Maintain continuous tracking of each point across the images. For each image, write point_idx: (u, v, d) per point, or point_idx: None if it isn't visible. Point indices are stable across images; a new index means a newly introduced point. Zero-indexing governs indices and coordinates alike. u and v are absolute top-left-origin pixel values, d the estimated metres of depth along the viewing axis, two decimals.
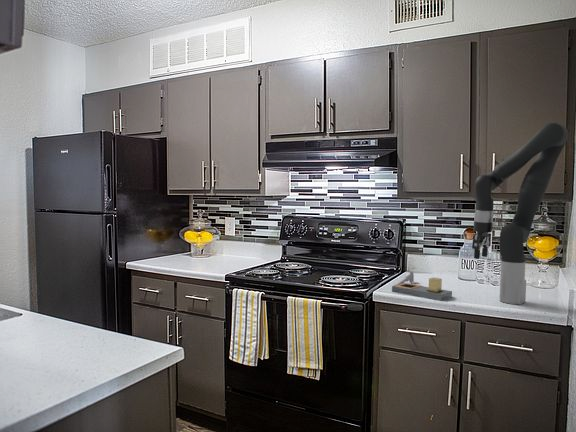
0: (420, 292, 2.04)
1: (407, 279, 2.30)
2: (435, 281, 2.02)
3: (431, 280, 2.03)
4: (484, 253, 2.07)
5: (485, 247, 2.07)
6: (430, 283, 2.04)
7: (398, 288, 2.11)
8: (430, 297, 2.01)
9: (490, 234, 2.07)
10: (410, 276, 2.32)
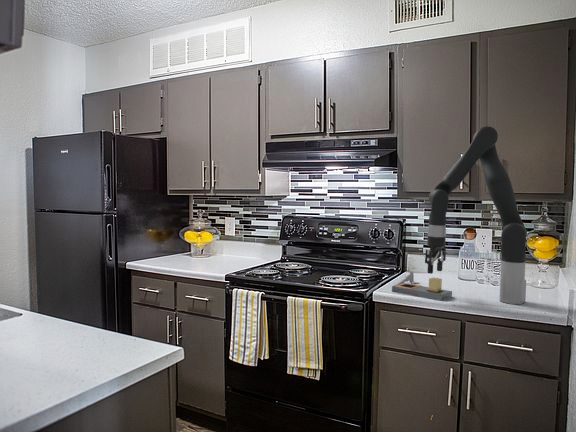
0: (420, 292, 2.04)
1: (407, 279, 2.30)
2: (435, 281, 2.02)
3: (431, 280, 2.03)
4: (439, 267, 2.07)
5: (440, 261, 2.07)
6: (430, 283, 2.04)
7: (398, 288, 2.11)
8: (430, 297, 2.01)
9: (445, 248, 2.07)
10: (410, 276, 2.32)
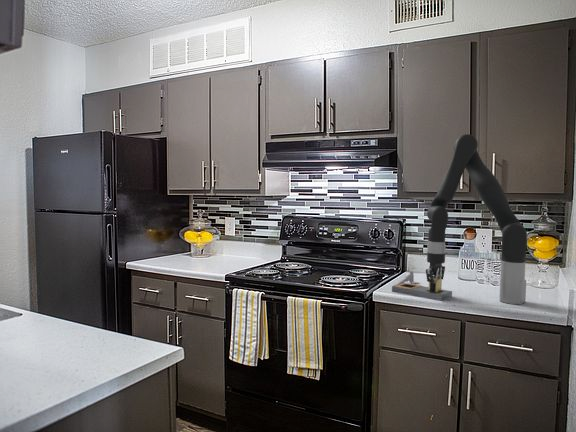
0: (420, 292, 2.04)
1: (407, 279, 2.30)
2: None
3: None
4: None
5: None
6: None
7: (398, 288, 2.11)
8: (430, 297, 2.01)
9: (444, 267, 2.07)
10: (410, 276, 2.32)
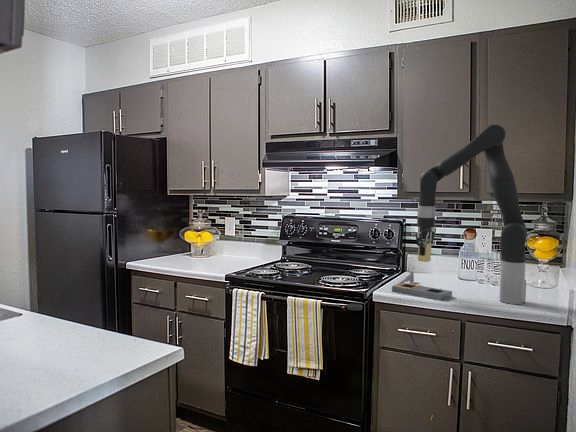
0: (420, 292, 2.04)
1: (407, 279, 2.30)
2: (425, 245, 2.04)
3: None
4: None
5: None
6: (419, 248, 2.06)
7: (398, 288, 2.11)
8: (430, 297, 2.01)
9: (434, 232, 2.10)
10: (410, 276, 2.32)
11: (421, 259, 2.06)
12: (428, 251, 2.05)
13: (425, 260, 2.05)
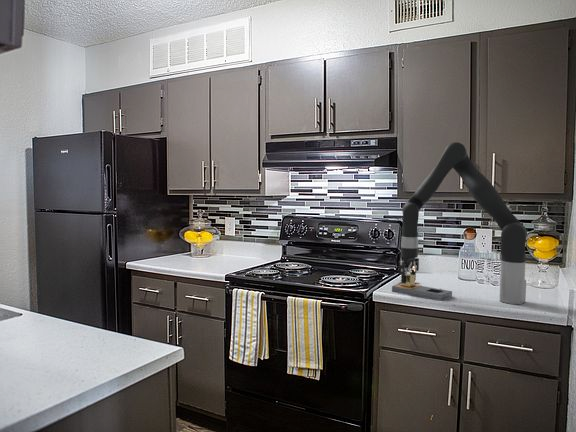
0: (420, 292, 2.04)
1: None
2: (408, 277, 2.11)
3: None
4: None
5: (413, 271, 2.16)
6: None
7: (398, 288, 2.11)
8: (430, 297, 2.01)
9: (418, 259, 2.16)
10: None
11: None
12: (412, 282, 2.12)
13: None
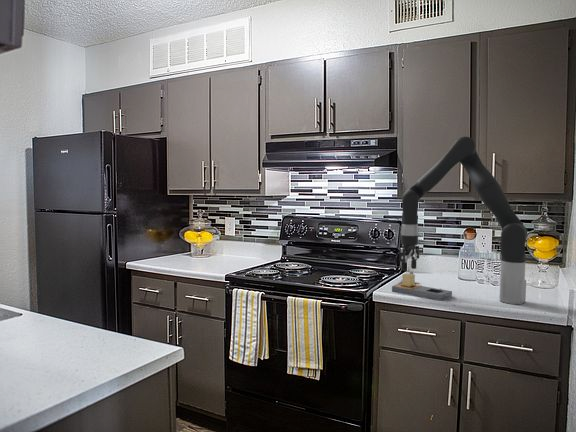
0: (420, 292, 2.04)
1: None
2: (408, 277, 2.11)
3: (404, 276, 2.12)
4: (413, 265, 2.15)
5: (414, 259, 2.15)
6: (403, 279, 2.13)
7: (398, 288, 2.11)
8: (430, 297, 2.01)
9: (418, 246, 2.16)
10: None
11: None
12: (412, 282, 2.12)
13: None
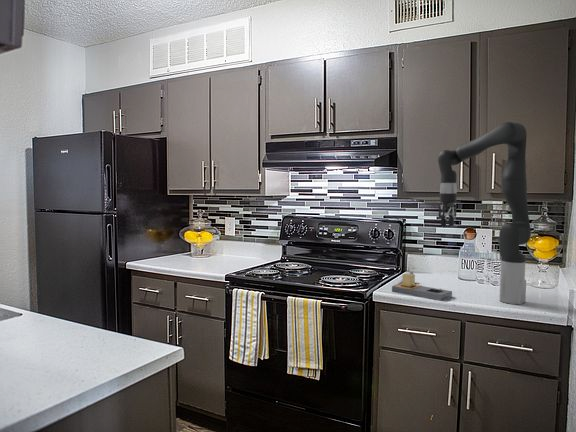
0: (420, 292, 2.04)
1: None
2: (408, 277, 2.11)
3: (404, 276, 2.12)
4: (450, 223, 2.26)
5: (451, 217, 2.25)
6: (403, 279, 2.13)
7: (398, 288, 2.11)
8: (430, 297, 2.01)
9: (455, 205, 2.26)
10: None
11: None
12: (412, 282, 2.12)
13: None
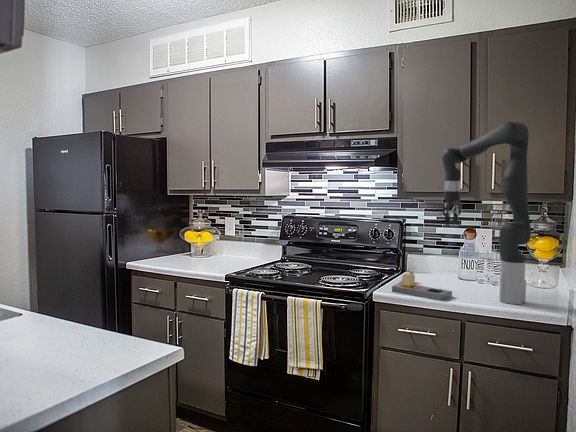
0: (420, 292, 2.04)
1: None
2: (408, 277, 2.11)
3: (404, 276, 2.12)
4: (455, 221, 2.27)
5: (455, 215, 2.26)
6: (403, 279, 2.13)
7: (398, 288, 2.11)
8: (430, 297, 2.01)
9: (459, 203, 2.27)
10: None
11: None
12: (412, 282, 2.12)
13: None
